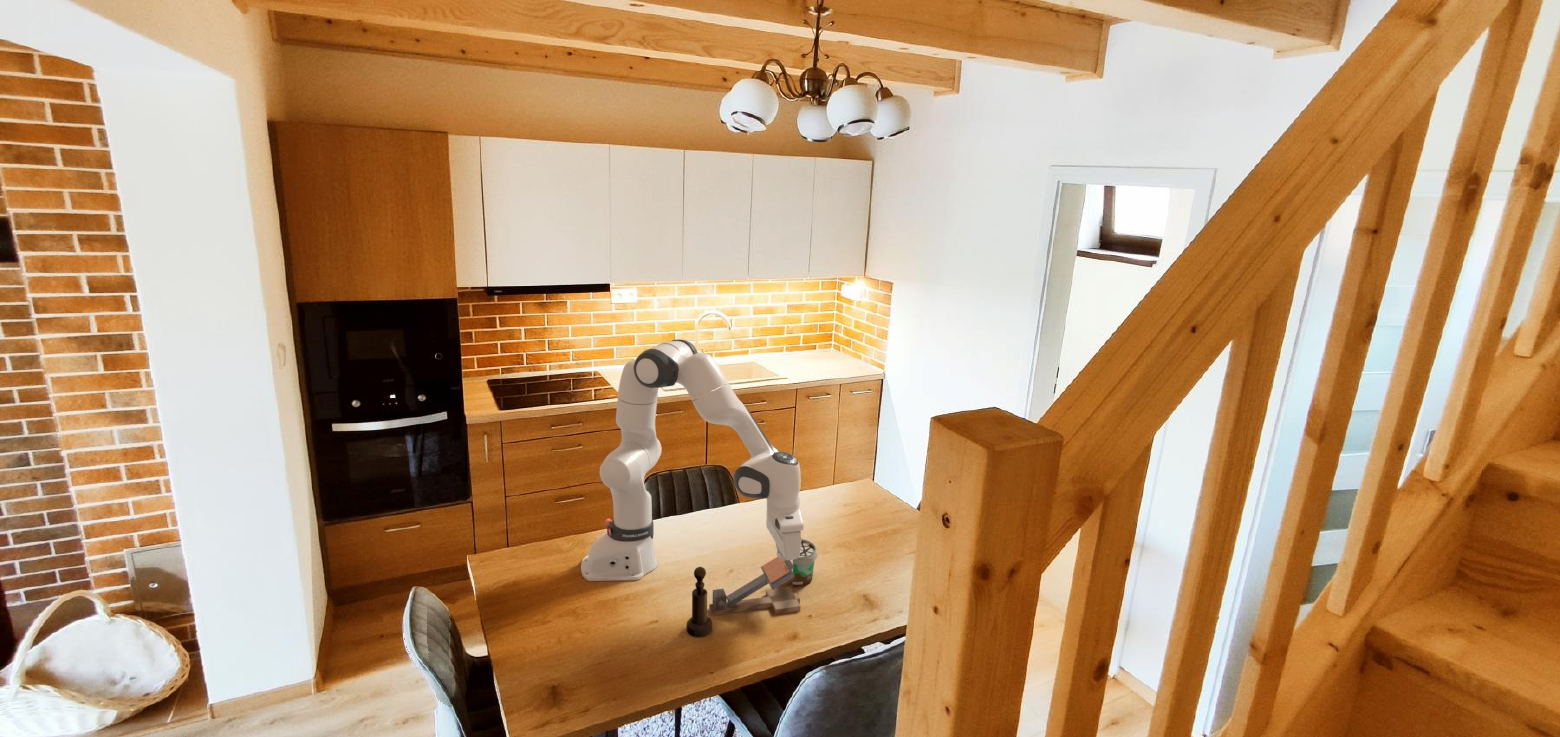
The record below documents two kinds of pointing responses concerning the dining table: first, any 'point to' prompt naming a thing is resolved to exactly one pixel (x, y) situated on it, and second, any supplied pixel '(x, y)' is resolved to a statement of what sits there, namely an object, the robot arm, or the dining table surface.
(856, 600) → the dining table surface
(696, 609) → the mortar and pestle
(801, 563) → the food container
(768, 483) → the robot arm
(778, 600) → the walnut jaw
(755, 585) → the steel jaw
